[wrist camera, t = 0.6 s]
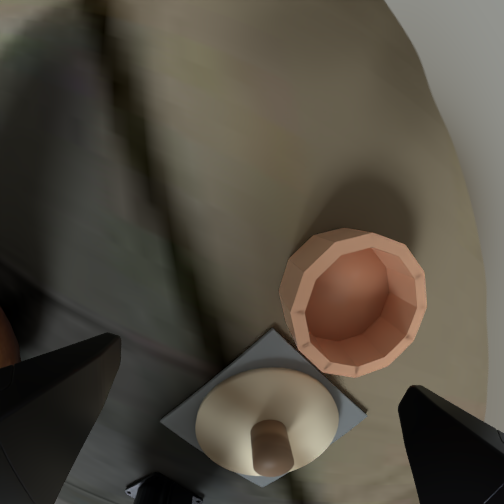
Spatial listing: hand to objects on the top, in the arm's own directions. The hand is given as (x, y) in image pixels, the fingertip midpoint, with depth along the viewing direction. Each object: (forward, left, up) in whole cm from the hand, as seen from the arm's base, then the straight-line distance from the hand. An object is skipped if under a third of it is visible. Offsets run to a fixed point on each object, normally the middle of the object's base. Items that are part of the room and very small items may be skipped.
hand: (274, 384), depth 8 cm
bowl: (+4, -5, -14) cm, 16 cm away
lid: (-8, -10, -14) cm, 19 cm away
